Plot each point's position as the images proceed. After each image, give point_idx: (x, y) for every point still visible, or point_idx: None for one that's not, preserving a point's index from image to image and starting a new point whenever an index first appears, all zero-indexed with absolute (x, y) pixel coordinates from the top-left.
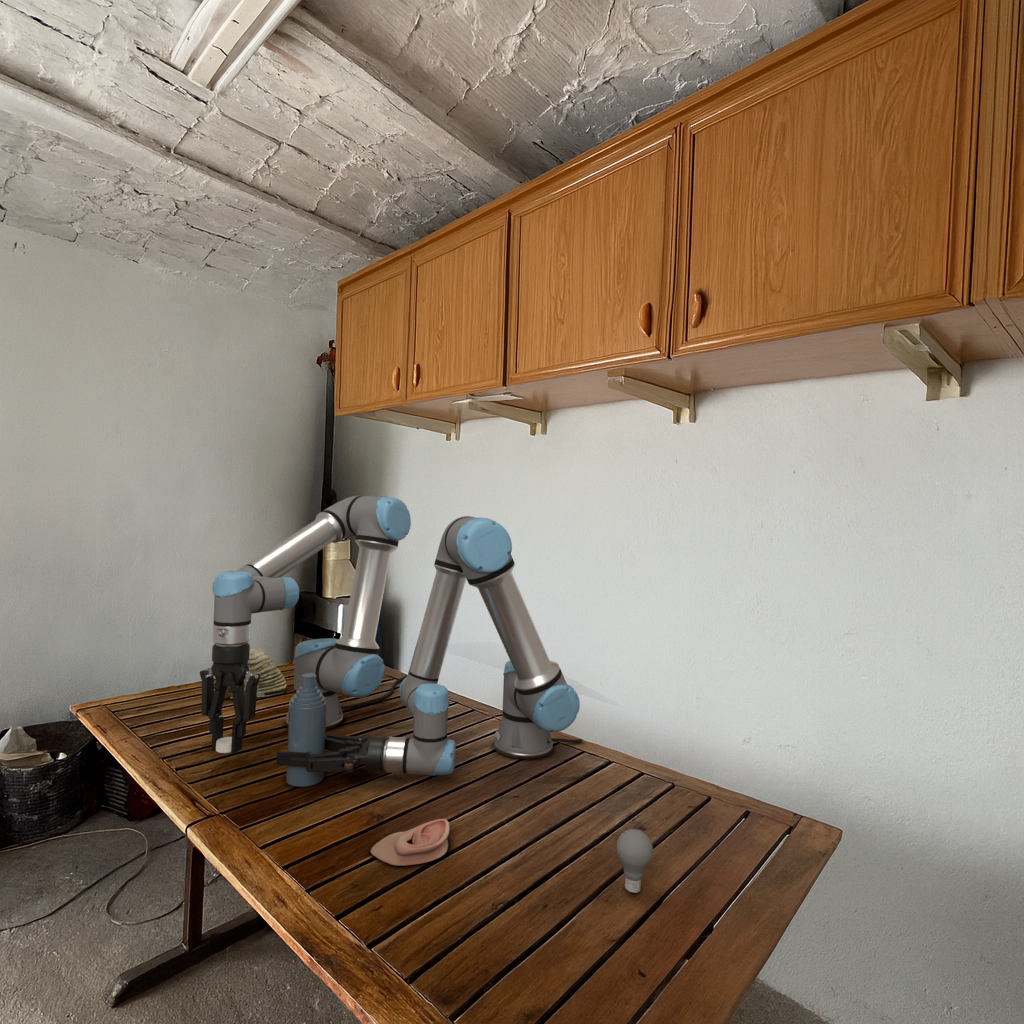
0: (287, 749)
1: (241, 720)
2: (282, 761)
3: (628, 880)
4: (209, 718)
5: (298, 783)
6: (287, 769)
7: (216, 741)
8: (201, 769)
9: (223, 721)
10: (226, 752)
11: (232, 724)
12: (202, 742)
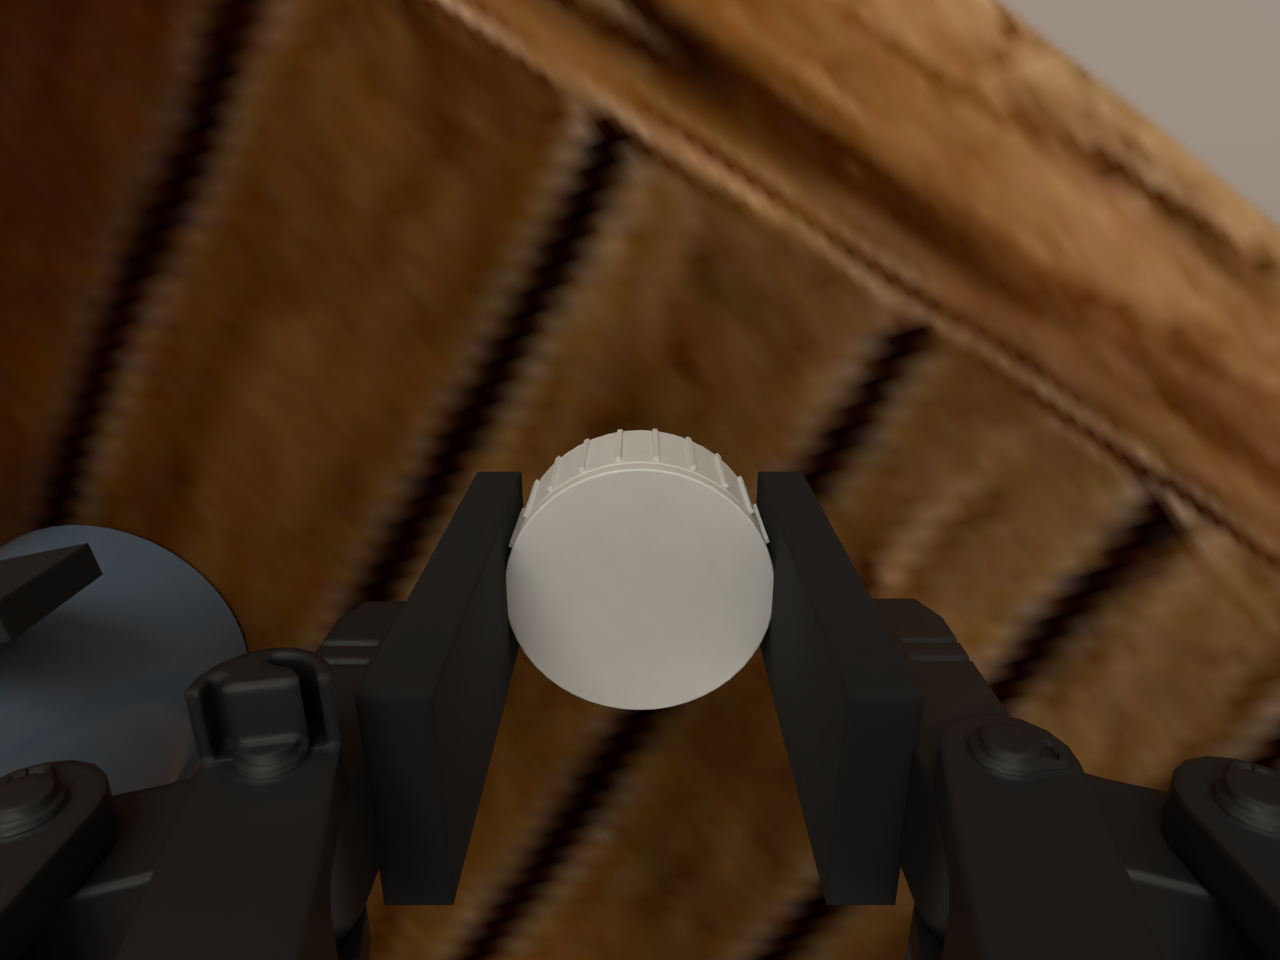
0: (15, 735)
1: (206, 773)
2: (5, 573)
3: None
4: (1031, 730)
5: (34, 536)
6: (114, 608)
7: (751, 521)
8: (968, 569)
9: (809, 834)
10: (568, 453)
11: (438, 682)
12: None
